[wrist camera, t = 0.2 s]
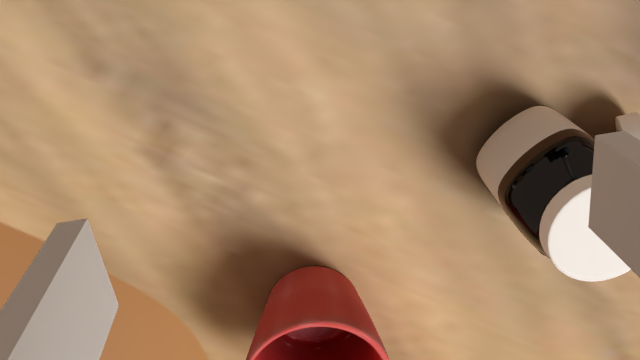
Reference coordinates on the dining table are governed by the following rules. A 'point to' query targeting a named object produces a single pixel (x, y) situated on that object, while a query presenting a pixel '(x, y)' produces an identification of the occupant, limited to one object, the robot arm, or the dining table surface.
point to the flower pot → (315, 320)
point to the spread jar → (551, 188)
